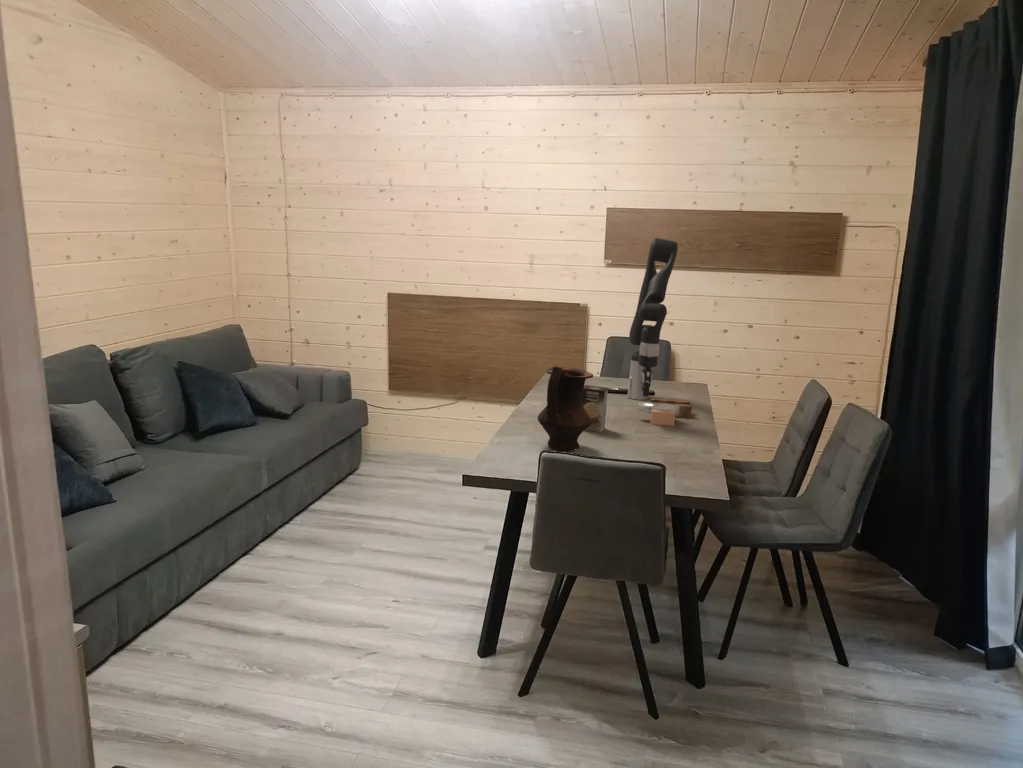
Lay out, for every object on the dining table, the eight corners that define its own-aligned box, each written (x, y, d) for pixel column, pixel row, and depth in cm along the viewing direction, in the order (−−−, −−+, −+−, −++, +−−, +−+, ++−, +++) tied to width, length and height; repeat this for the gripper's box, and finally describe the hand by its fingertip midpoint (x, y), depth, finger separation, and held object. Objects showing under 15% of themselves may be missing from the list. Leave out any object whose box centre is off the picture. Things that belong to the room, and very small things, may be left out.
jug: (551, 435, 264) (556, 354, 257) (598, 445, 255) (604, 361, 249) (522, 449, 246) (527, 362, 239) (572, 460, 237) (578, 370, 231)
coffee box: (577, 429, 274) (580, 387, 271) (581, 425, 280) (584, 384, 276) (601, 432, 271) (604, 390, 268) (605, 428, 277) (608, 387, 274)
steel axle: (637, 413, 289) (638, 403, 289) (637, 411, 293) (638, 401, 293) (678, 416, 288) (679, 406, 287) (677, 414, 292) (678, 404, 291)
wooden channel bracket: (651, 415, 300) (652, 403, 298) (649, 409, 308) (650, 398, 307) (690, 418, 298) (691, 406, 297) (688, 412, 306) (689, 401, 305)
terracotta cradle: (650, 423, 286) (651, 411, 285) (649, 416, 297) (650, 405, 296) (674, 425, 285) (675, 413, 284) (671, 418, 296) (672, 406, 295)
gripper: (638, 349, 293) (635, 388, 297) (640, 356, 279) (636, 397, 283) (657, 351, 292) (653, 390, 296) (659, 357, 279) (655, 398, 282)
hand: (645, 393), depth 290 cm, fingers open, 8 cm apart
